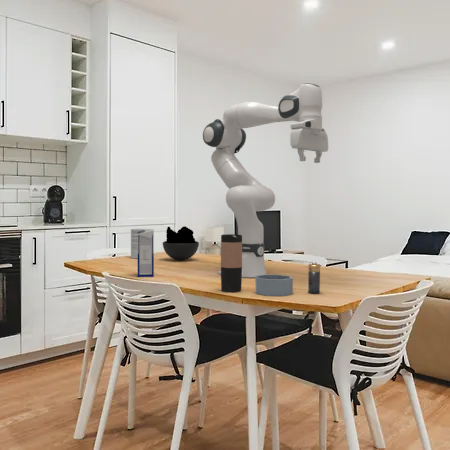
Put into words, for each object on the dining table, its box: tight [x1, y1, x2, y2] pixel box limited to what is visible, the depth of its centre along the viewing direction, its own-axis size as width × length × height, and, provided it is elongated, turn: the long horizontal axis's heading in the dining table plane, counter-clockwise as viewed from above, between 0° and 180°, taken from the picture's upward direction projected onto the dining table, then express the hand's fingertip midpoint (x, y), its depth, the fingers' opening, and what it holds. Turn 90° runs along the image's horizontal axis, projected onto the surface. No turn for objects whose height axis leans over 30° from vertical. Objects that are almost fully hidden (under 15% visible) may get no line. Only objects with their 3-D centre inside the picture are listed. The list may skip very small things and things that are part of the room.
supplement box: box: [130, 228, 154, 260], centre depth 283 cm, size 10×9×17 cm
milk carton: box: [137, 229, 155, 278], centre depth 212 cm, size 7×7×20 cm
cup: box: [254, 274, 294, 297], centre depth 173 cm, size 13×13×6 cm
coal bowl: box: [162, 225, 200, 261], centre depth 272 cm, size 20×20×19 cm
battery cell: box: [307, 261, 321, 295], centre depth 173 cm, size 4×4×11 cm
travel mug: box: [220, 233, 243, 293], centre depth 176 cm, size 8×8×20 cm
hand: (310, 162), depth 191 cm, fingers open, 8 cm apart
